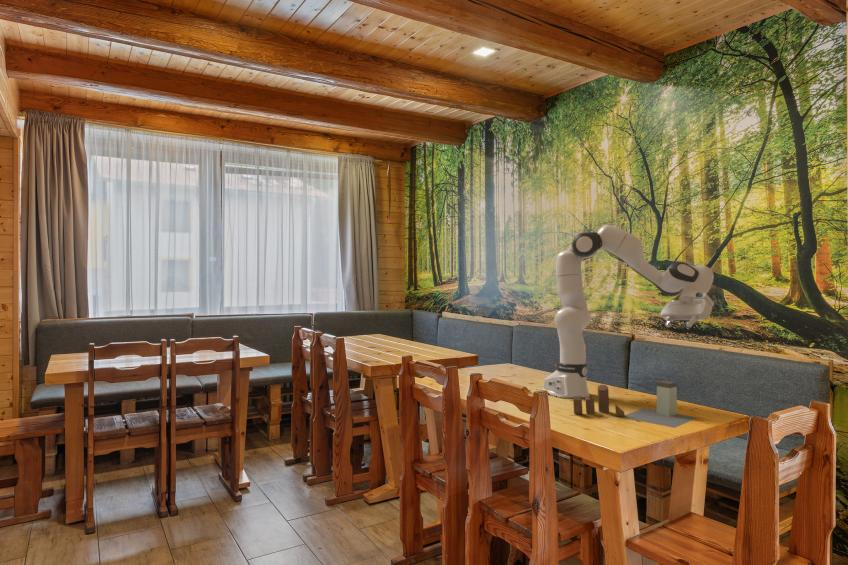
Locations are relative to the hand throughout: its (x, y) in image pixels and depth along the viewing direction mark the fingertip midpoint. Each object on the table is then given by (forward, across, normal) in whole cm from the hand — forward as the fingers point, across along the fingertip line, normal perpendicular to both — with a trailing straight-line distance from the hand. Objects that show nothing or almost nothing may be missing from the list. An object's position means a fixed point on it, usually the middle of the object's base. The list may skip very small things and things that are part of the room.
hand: (677, 326), depth 220 cm
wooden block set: (+48, -9, -6) cm, 49 cm away
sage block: (+34, +4, +11) cm, 36 cm away
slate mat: (+39, +6, +6) cm, 40 cm away
